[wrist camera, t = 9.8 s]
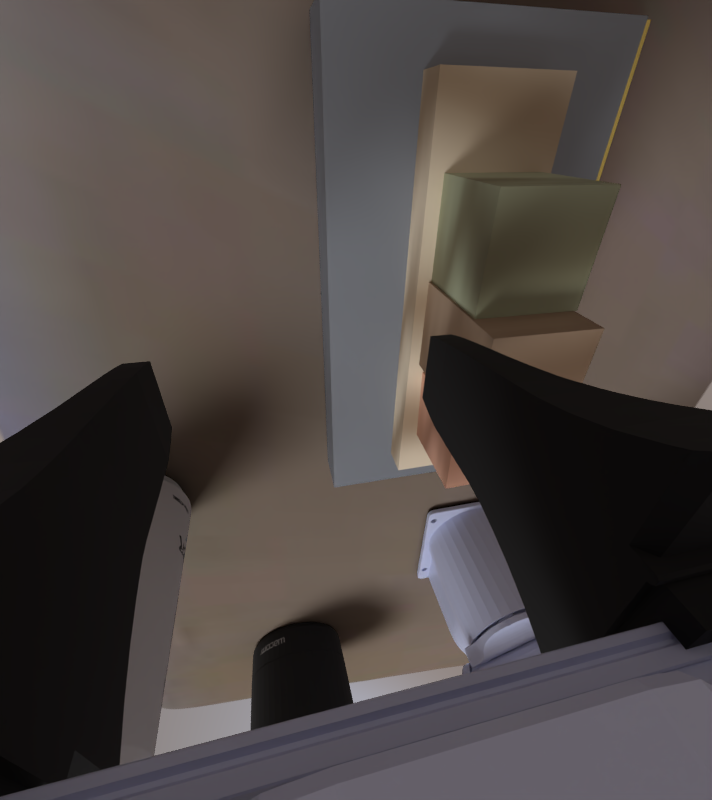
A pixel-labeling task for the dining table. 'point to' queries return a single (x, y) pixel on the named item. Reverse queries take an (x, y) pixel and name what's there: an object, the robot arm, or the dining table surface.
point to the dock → (395, 169)
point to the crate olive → (519, 240)
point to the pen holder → (298, 674)
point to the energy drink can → (154, 622)
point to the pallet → (437, 154)
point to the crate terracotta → (437, 448)
